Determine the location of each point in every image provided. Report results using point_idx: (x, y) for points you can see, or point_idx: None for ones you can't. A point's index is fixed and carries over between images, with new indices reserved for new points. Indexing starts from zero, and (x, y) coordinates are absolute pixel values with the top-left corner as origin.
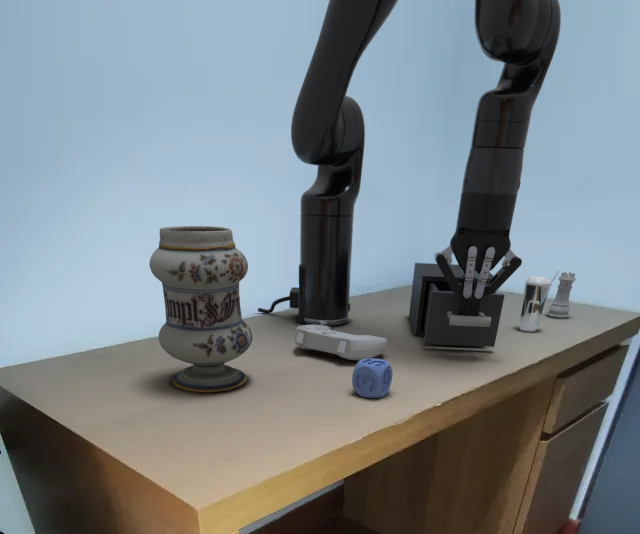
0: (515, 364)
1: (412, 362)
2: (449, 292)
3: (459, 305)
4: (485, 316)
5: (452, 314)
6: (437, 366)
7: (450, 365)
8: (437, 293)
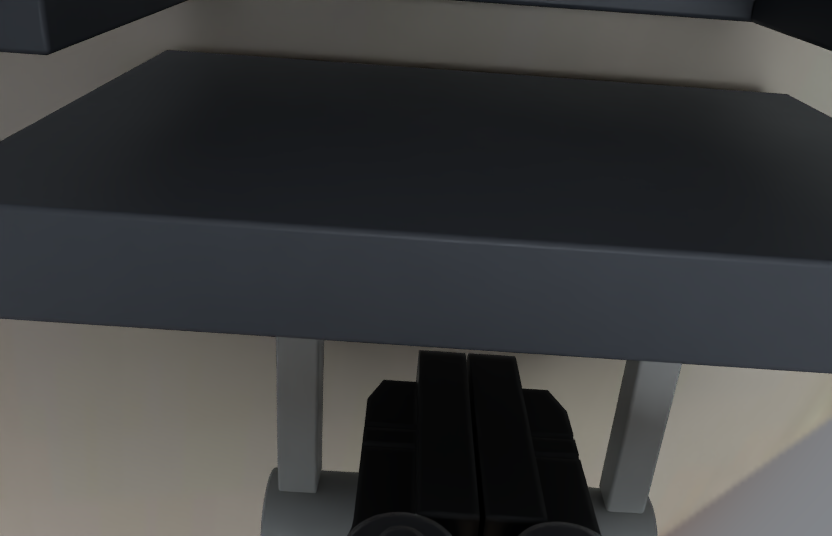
0: (783, 398)
1: (100, 404)
2: (214, 319)
3: (359, 467)
4: (657, 438)
5: (308, 394)
6: (254, 464)
7: (339, 442)
8: (29, 314)
